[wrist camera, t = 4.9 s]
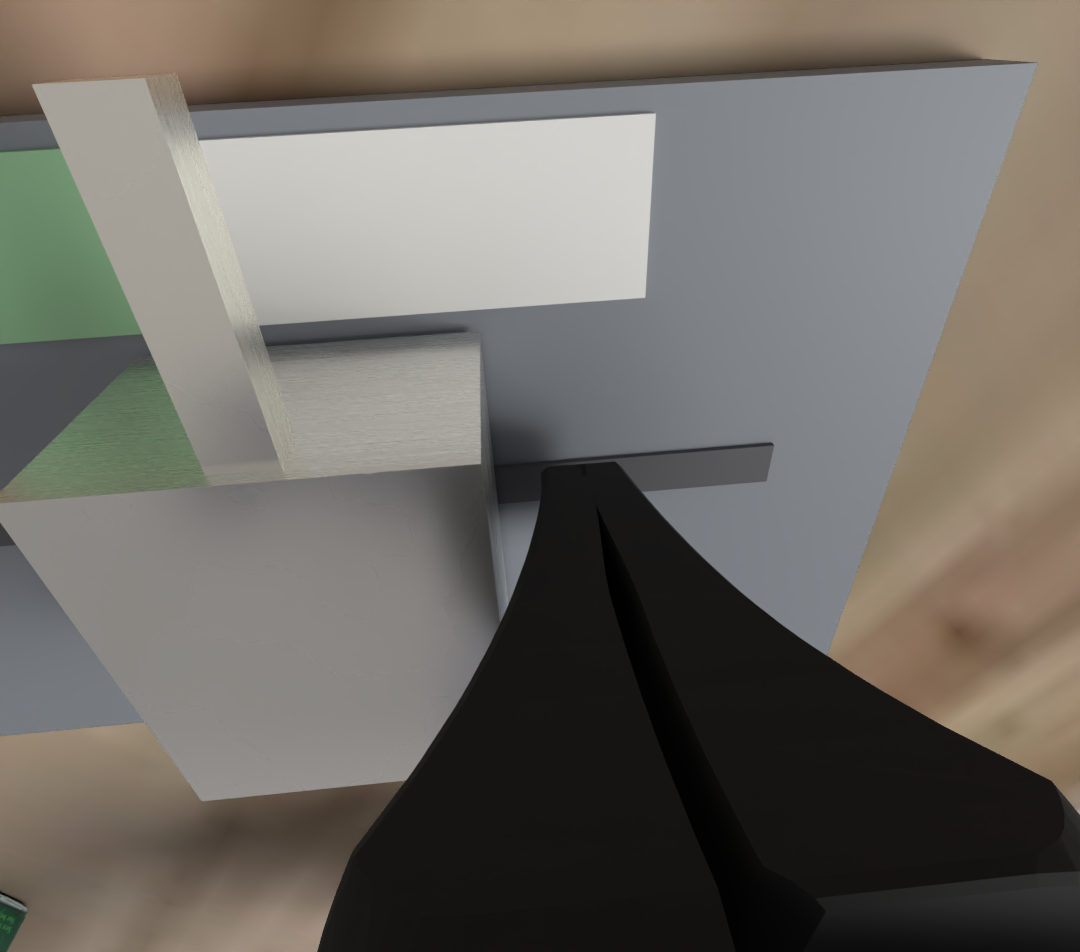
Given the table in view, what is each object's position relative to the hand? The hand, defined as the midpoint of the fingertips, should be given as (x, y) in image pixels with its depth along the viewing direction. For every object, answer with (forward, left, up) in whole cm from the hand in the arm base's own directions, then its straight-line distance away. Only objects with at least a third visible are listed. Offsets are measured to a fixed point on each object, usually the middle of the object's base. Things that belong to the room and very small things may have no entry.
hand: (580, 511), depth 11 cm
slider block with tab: (+2, +4, -1) cm, 4 cm away
